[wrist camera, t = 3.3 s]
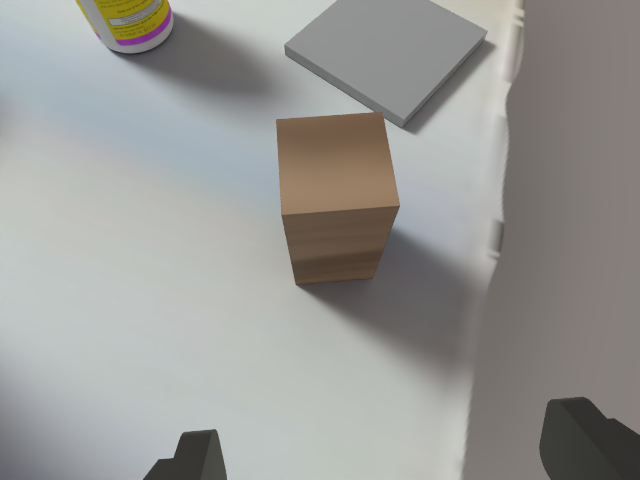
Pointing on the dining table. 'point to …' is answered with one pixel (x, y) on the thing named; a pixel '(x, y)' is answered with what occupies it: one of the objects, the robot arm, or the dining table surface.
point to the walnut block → (336, 194)
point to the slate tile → (386, 51)
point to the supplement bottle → (129, 23)
